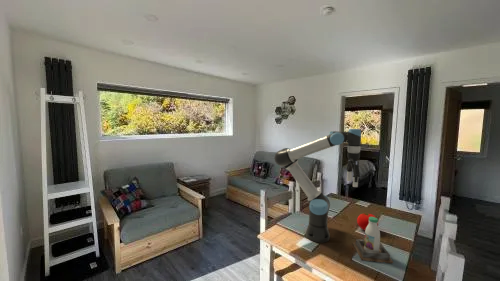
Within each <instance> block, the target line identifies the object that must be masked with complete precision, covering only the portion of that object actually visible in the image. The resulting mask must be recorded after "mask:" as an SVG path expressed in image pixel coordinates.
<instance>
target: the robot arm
mask: <svg viewBox="0 0 500 281" xmlns="http://www.w3.org/2000/svg"><path fill="white" fill-rule="evenodd" d="M328 133H329V134H328V135H326V136H322V137H320V138H318V139H315V140H312V141H309V142H307V143H304V144H302V145H298V146H297V147H293V148H288V147H287V148H286V147H284V148H282V149H280V150H278V151H276V152H275V154H274V162H275V163H276V164H277V165H278V166H279V167H283V168H284V169H285V170H288V172H289V173H290V174H291V176H292V177H293V179H294V180H295V181H296V183H297V184H298V186H299V187H300V188H301V190H302V192H303V193H304V194H305V195H306V197H307V202H308V203H309V206H308V208H309V210H308V211H309V212H308V214H309V215H308V225H307V227H306V230H305V236H306V238H307V239H308V240H310V241H312V242H315V243H319V244H320V243H322V244H323V243H328V242H329V240H330V236H331V235H330V234H331V233H330V231H329V228H328V221H329V220H328V218H329V211H330V208H331V202H330V199H329V197H328V196H327V195H325V194H324V193H323V192H322V191H320V190H318V189H317V188H316V186H315V184H314V183H313V182H312V181H311V179H310V178H309V176H308V175H307V174H306V172H305V171H304V169H303V168H302V167H301V166H300V164H299V159H302V158H304V157H306V156H310V155H312V154H315V153H319V152H321V151H324V150H326V149H330V148H333V147H335V146H339V145H341V144H347V155H346V156H347V157H346V158H347V159H348V160H347V165H346V171H347V173H346V181H347V182H352V187H353V188H358V187H359V178H360V166H359V165H360V162H359V161H358V160H359V159H360V158H361V150H362V146H361V142H362V129H360V128H349V129H348V131H340V130H339V131H336V130H335V131H334V130H333V131H329V132H328ZM352 177H353V178H352Z"/></svg>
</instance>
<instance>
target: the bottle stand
mask: <svg viewBox="0 0 500 281" xmlns="http://www.w3.org/2000/svg"><path fill="white" fill-rule="evenodd" d="M352 246H353V248H354V249H355V251H356V253H357V255H358V257H359V259H360V260H361V261H366V262H374V261H375V263H376V262H377V263H383V262H385V263H384V264H392V263H393V264H394V261H393V259H392V258H391V257H390V253H389V252H388V251H387V249H386V248H385V246H383V244H382V243H381V242H380V247H379V252H369V251H365V250H364V239H359V238H356V239H355V242H352Z"/></svg>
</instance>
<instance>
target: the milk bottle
mask: <svg viewBox="0 0 500 281" xmlns="http://www.w3.org/2000/svg"><path fill="white" fill-rule="evenodd" d="M375 217H376V216H375ZM375 217H369V224H368V226H367V227H366V230H364V238H363V240H364V250H365V251H369V252H379V247H380V243H381V232H380V229H379V218H377V217H376V218H375ZM377 223H378V225H377Z"/></svg>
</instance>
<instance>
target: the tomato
mask: <svg viewBox="0 0 500 281" xmlns="http://www.w3.org/2000/svg"><path fill="white" fill-rule="evenodd" d="M369 217H375V218H377V217H376V216H375V215H374V214H371V213H367V212H362V213H359V215H358V217H357V218H356V223H357V225H358V227H359V228H360V229H362V230H364V231H365V230H366V227H367V226H368V224H369ZM377 225H378V226H379V222H378V223H377Z"/></svg>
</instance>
